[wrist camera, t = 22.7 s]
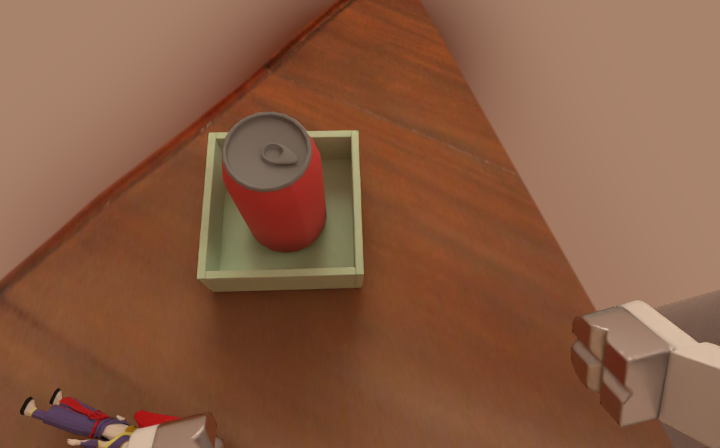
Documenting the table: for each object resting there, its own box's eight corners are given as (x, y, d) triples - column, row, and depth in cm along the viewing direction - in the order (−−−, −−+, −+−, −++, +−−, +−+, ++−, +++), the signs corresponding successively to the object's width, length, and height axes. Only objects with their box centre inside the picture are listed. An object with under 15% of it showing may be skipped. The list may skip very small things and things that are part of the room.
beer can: (310, 265, 39) (296, 213, 28) (237, 240, 39) (194, 178, 28) (337, 196, 41) (335, 121, 30) (267, 173, 42) (239, 91, 30)
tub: (356, 156, 43) (358, 130, 39) (361, 287, 39) (363, 274, 35) (222, 158, 43) (208, 132, 38) (212, 292, 39) (196, 279, 34)
